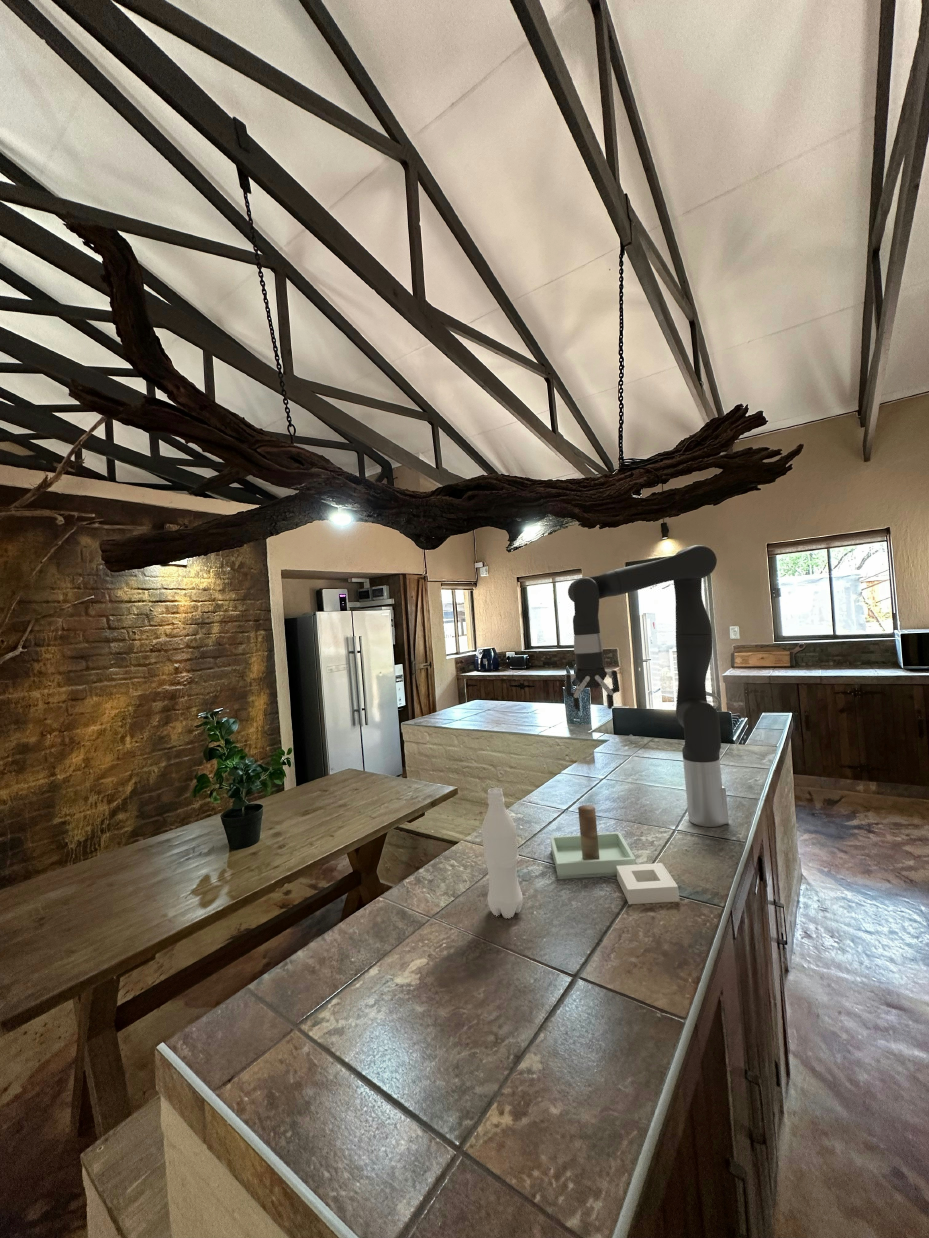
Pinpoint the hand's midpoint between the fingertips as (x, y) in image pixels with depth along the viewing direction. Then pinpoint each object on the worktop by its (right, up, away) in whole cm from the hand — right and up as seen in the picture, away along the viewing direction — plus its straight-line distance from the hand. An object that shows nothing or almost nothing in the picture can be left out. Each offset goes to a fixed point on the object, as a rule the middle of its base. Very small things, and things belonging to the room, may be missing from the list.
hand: (594, 709), depth 140 cm
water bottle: (-27, -36, -35) cm, 56 cm away
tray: (-5, -34, -17) cm, 38 cm away
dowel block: (+3, -33, -31) cm, 45 cm away
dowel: (-5, -33, -17) cm, 37 cm away
